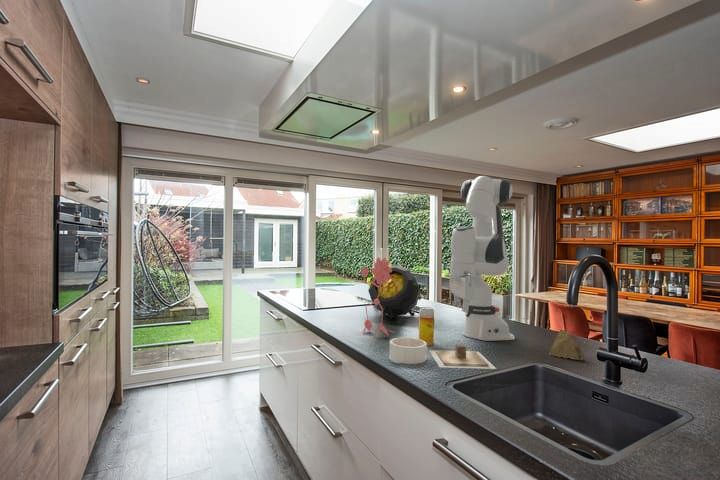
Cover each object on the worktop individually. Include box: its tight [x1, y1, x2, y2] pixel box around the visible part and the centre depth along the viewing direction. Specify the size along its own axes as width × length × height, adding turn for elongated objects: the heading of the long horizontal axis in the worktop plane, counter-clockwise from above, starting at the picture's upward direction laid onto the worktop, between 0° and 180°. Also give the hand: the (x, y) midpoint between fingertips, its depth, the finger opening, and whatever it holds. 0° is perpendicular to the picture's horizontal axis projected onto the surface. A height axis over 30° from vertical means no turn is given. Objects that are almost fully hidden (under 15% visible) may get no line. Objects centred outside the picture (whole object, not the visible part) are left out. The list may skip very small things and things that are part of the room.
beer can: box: [418, 306, 435, 346], centre depth 153 cm, size 6×6×15 cm
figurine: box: [360, 256, 399, 339], centre depth 169 cm, size 15×26×35 cm, turn 39°
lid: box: [435, 343, 489, 367], centre depth 133 cm, size 15×15×5 cm
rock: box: [548, 329, 585, 361], centre depth 139 cm, size 11×9×10 cm
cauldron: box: [368, 264, 422, 321], centre depth 209 cm, size 28×28×24 cm
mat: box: [429, 350, 497, 370], centre depth 133 cm, size 19×19×1 cm
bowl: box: [388, 337, 428, 365], centre depth 133 cm, size 13×13×6 cm
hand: (461, 309), depth 132 cm, fingers open, 8 cm apart
